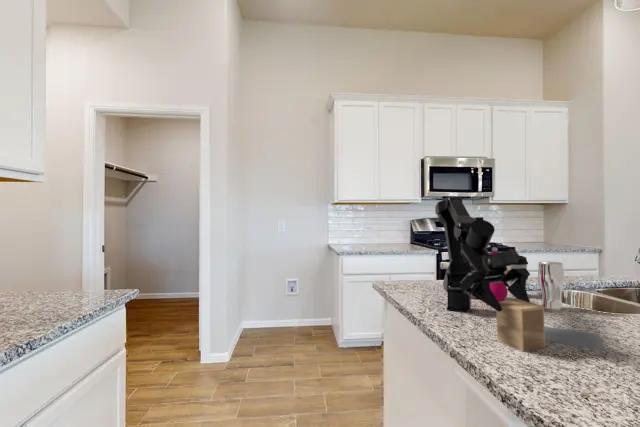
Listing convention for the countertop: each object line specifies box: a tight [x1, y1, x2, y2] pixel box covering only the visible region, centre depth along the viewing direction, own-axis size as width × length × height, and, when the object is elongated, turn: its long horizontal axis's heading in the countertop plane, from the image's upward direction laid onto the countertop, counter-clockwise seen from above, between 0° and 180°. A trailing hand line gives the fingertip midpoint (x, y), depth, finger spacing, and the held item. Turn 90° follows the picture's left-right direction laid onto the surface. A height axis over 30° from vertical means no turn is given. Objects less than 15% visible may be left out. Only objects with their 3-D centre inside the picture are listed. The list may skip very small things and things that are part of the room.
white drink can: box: [537, 261, 565, 311], centre depth 111 cm, size 7×7×15 cm
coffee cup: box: [503, 255, 529, 298], centre depth 129 cm, size 8×8×15 cm
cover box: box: [496, 298, 546, 352], centre depth 81 cm, size 7×7×10 cm
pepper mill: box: [486, 246, 509, 306], centre depth 117 cm, size 7×7×20 cm
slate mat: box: [544, 326, 607, 351], centre depth 84 cm, size 13×12×1 cm
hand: (515, 308), depth 82 cm, fingers open, 9 cm apart
